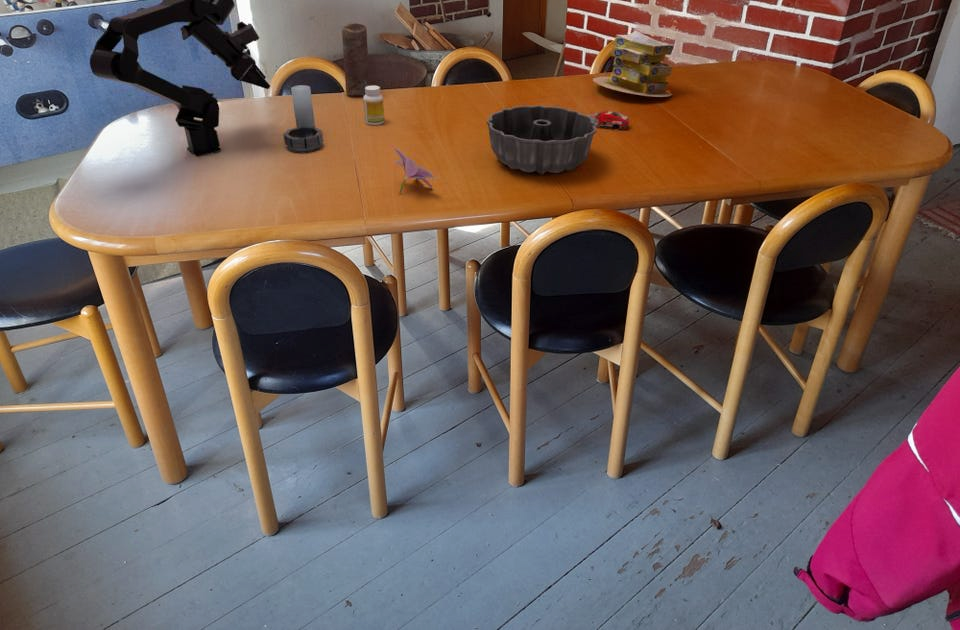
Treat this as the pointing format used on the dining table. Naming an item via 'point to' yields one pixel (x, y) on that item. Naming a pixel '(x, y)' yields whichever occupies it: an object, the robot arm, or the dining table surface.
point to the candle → (355, 59)
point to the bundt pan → (541, 138)
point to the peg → (303, 106)
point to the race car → (610, 120)
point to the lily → (413, 169)
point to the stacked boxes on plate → (638, 66)
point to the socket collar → (303, 139)
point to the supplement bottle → (373, 106)
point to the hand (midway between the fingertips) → (266, 83)
